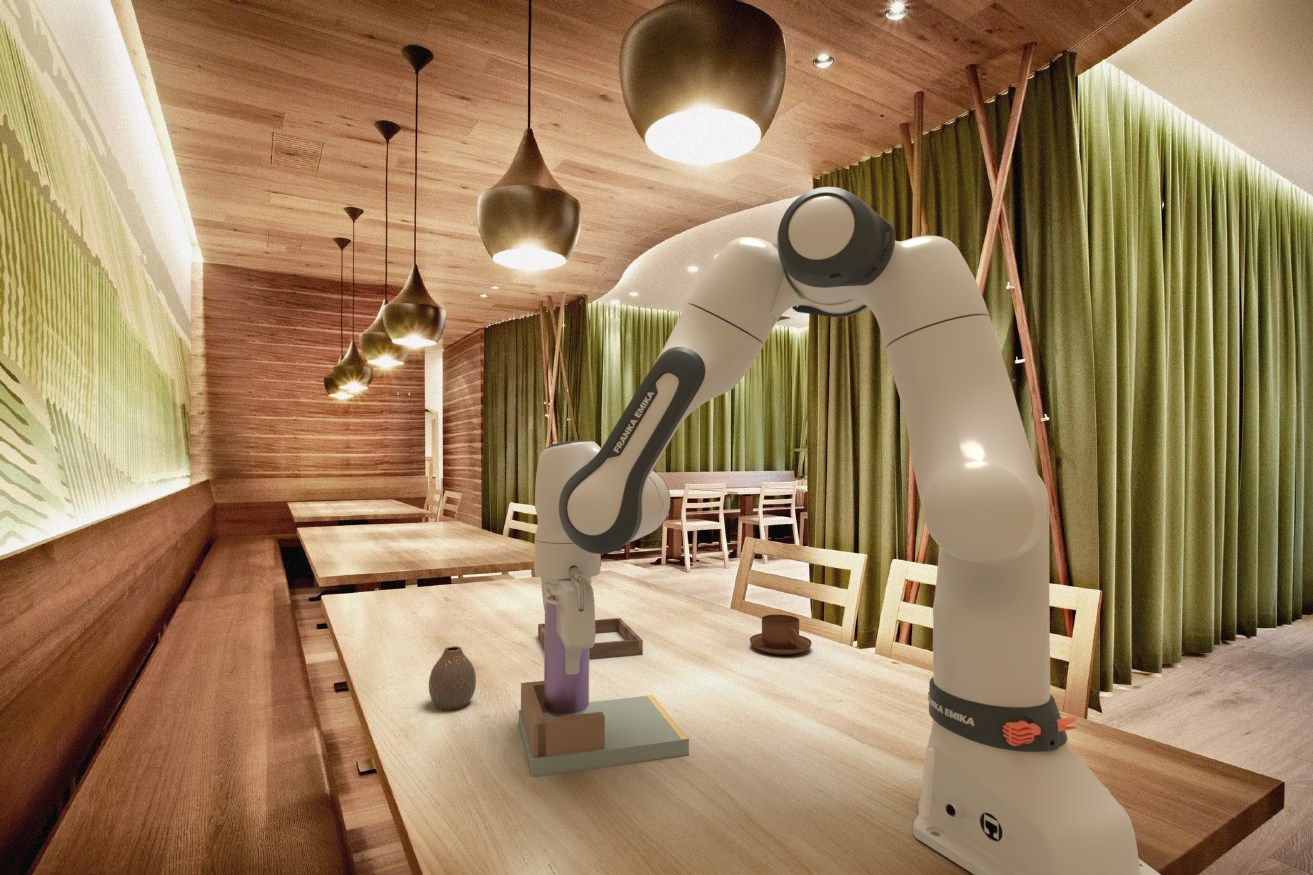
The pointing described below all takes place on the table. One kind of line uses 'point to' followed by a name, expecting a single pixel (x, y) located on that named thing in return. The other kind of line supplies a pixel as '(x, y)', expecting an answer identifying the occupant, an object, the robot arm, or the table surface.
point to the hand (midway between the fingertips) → (567, 664)
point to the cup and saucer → (780, 636)
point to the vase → (452, 680)
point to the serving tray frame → (609, 649)
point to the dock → (596, 733)
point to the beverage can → (562, 672)
